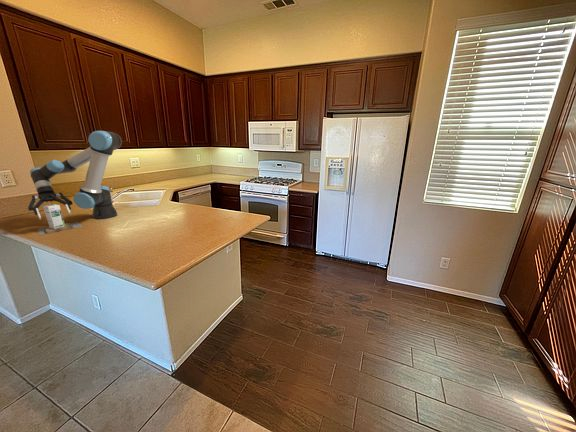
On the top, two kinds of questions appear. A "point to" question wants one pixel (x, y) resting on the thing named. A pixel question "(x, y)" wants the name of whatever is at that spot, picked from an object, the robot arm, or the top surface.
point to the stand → (50, 230)
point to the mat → (74, 225)
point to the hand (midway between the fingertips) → (55, 215)
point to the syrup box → (54, 216)
